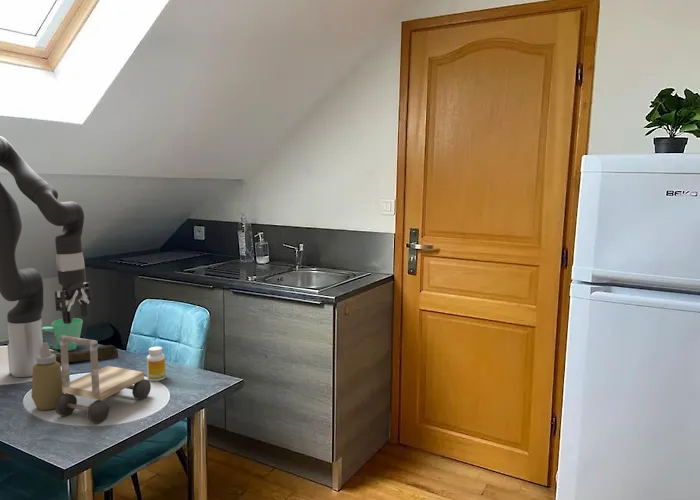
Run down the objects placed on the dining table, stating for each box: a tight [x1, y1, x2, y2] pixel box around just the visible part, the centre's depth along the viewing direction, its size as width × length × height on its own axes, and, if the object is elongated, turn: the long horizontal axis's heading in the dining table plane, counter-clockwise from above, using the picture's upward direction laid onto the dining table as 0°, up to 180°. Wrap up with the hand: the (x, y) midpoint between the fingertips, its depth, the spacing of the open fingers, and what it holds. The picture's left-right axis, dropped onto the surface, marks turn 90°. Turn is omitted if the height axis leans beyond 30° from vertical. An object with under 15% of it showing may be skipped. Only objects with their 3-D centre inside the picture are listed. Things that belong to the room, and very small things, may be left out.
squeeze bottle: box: [31, 341, 65, 411], centre depth 153 cm, size 8×8×18 cm
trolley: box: [54, 335, 152, 424], centre depth 153 cm, size 13×22×22 cm, turn 159°
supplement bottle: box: [146, 345, 167, 382], centre depth 175 cm, size 5×5×10 cm
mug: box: [42, 317, 83, 352], centre depth 199 cm, size 15×10×10 cm
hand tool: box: [55, 344, 119, 365], centre depth 189 cm, size 19×4×5 cm, turn 114°
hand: (76, 319), depth 172 cm, fingers open, 8 cm apart
